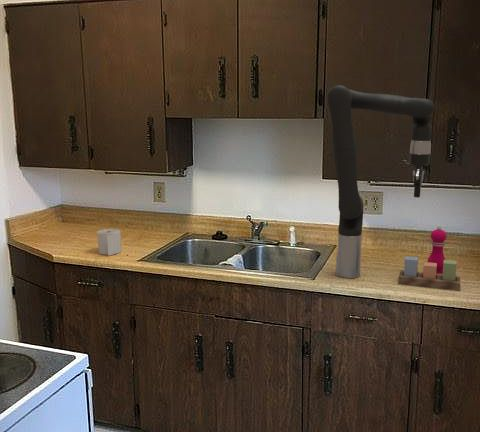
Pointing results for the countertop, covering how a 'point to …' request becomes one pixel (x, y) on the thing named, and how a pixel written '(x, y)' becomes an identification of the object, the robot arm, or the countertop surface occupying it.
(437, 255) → the pepper mill
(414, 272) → the slate block
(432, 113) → the robot arm
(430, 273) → the terracotta block
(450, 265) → the olive block
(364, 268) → the countertop surface
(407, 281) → the walnut board
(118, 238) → the light grey block
